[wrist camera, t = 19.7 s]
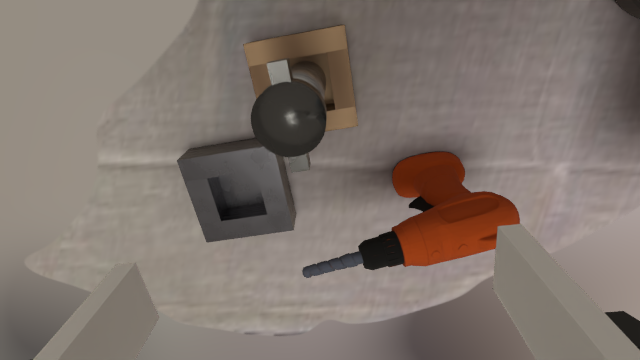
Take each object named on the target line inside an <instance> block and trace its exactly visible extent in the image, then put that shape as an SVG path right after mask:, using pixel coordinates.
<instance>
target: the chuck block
mask: <svg viewBox="0 0 640 360" xmlns="http://www.w3.org/2000/svg"><path fill="white" fill-rule="evenodd" d="M177 162H178V165H179V168H180V170H181V173H182V176H183V179H184V181H185V184H186V187H187V190H188V192H189V195H190V198H191V201H192V203H193V206H194V209H195V212H196V214H197V217H198V220H199V223H200V225H201V228H202V231H203V234H204V236H205V239H206V242H213V241H220V240H227V239H234V238H242V237H249V236H256V235H263V234H270V233H277V232H284V231H291V230H294V225H295V218H296V212H295V207H294V203H293V199H292V194H291V190H290V186H289V181H288V177H287V173H286V168H285V164H284V160H283V156H280V155H277V154H274V153H272V152H270V151H269V150H267V149H266V148H265V147H264V146H263V145H262V144H261V143H260V142H259V141H258V139H257V138H253V139H247V140H241V141H235V142H229V143H223V144H217V145H211V146H205V147H199V148H193V149H189V150H188V151H187V152H186V153H185V154H183V155H182V156H181V157H180V158H179V159H178V160H177Z"/></svg>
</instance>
